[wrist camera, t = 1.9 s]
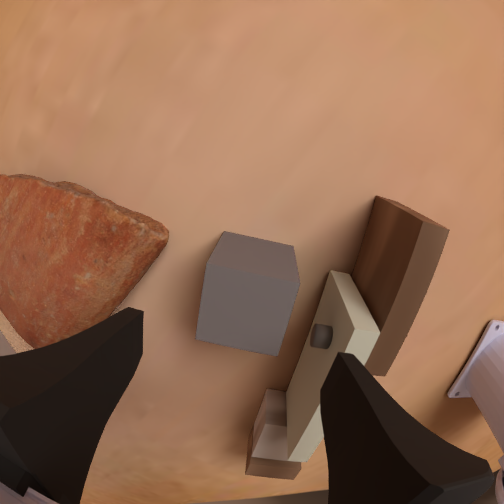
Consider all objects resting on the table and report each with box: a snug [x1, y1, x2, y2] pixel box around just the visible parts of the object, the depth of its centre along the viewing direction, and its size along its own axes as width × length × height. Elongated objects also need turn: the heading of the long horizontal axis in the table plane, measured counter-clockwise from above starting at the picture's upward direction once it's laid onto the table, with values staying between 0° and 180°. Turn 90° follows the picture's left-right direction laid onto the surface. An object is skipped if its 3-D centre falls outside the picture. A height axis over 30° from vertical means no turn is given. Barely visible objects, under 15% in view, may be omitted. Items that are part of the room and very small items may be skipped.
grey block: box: [195, 231, 300, 356], centre depth 16 cm, size 4×4×5 cm
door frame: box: [245, 196, 449, 480], centre depth 17 cm, size 4×22×6 cm, turn 168°
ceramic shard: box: [0, 174, 169, 349], centre depth 17 cm, size 15×6×15 cm
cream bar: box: [286, 270, 380, 462], centre depth 16 cm, size 2×10×6 cm, turn 168°
